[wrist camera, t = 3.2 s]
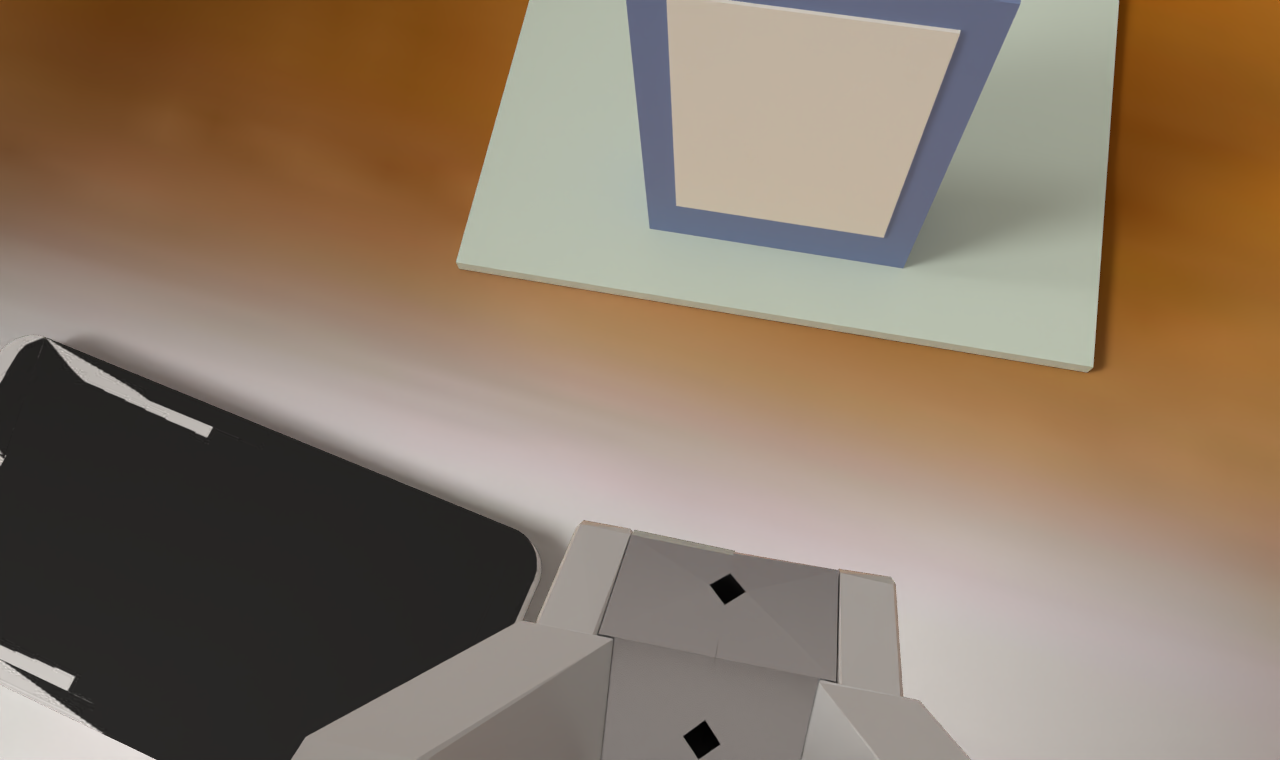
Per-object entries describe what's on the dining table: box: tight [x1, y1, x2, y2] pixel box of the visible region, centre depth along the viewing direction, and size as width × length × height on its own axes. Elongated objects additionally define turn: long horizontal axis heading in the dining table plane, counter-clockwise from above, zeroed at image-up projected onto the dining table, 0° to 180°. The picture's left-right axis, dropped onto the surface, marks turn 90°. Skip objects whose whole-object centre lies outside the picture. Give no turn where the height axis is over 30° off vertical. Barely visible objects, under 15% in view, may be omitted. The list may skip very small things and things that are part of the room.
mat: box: [456, 0, 1119, 372], centre depth 28 cm, size 16×15×1 cm
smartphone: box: [0, 335, 541, 760], centre depth 25 cm, size 8×1×15 cm
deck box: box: [626, 0, 1021, 268], centre depth 22 cm, size 6×2×10 cm, turn 79°
